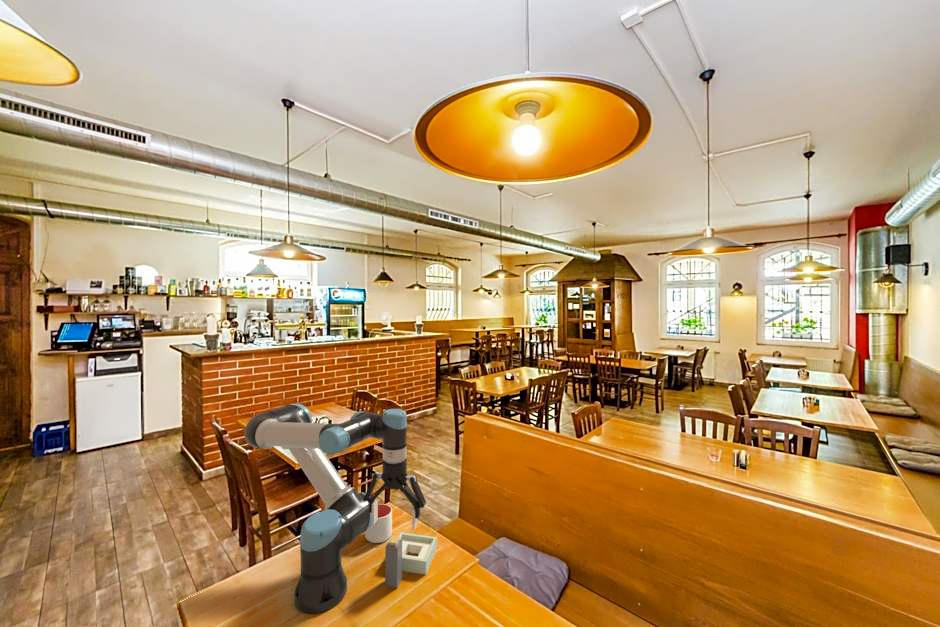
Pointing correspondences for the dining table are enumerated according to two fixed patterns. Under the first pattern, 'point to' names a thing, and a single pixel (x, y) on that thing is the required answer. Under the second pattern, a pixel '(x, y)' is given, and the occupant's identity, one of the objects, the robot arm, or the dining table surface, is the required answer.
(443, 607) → the dining table surface
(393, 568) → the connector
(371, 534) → the cup
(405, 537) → the walled box
